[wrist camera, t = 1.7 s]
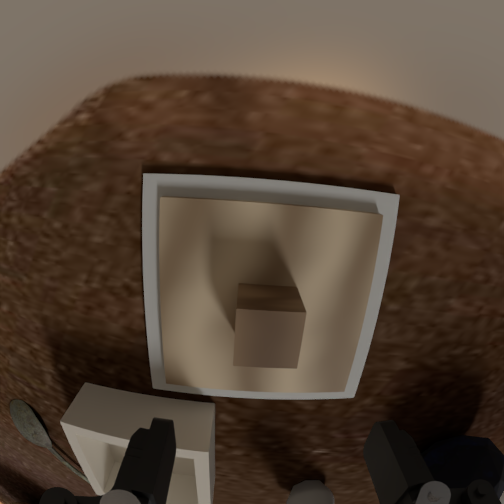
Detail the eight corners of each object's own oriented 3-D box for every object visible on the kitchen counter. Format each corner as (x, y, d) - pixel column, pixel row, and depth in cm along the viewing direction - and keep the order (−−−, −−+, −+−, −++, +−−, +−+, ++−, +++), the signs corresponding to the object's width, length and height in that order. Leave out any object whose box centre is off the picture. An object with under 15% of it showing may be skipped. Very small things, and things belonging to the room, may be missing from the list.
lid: (378, 213, 21) (410, 226, 16) (342, 386, 25) (356, 423, 20) (163, 195, 21) (139, 205, 16) (168, 377, 25) (154, 415, 20)
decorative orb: (480, 483, 27) (529, 513, 13) (393, 526, 28) (417, 577, 14) (469, 409, 32) (526, 421, 18) (376, 453, 33) (403, 492, 20)
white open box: (214, 403, 26) (208, 452, 20) (215, 476, 30) (211, 516, 24) (85, 382, 26) (59, 421, 20) (110, 458, 29) (96, 494, 23)
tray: (396, 194, 21) (399, 195, 21) (352, 393, 26) (353, 397, 25) (146, 173, 21) (143, 173, 20) (154, 384, 26) (152, 388, 25)
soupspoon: (26, 388, 28) (8, 397, 29) (12, 404, 25) (-5, 410, 26) (137, 496, 32) (110, 497, 33) (131, 513, 29) (103, 512, 30)
